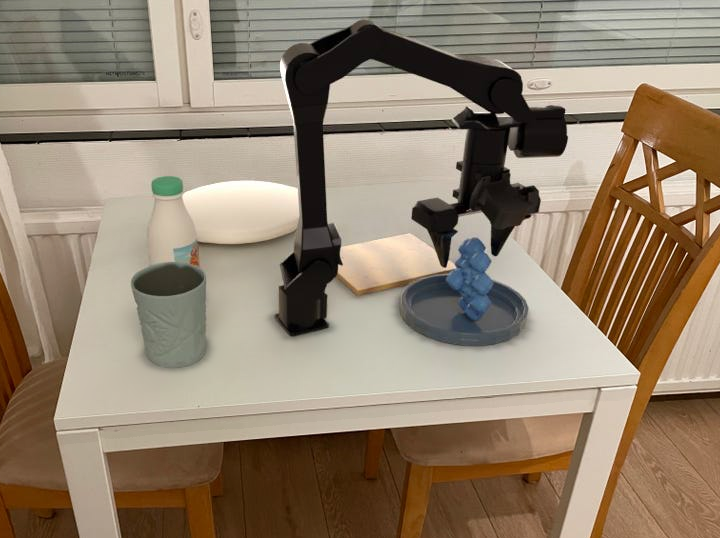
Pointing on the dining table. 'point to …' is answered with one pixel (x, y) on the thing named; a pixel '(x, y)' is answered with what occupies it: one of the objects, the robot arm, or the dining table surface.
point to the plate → (242, 211)
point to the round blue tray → (462, 313)
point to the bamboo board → (388, 263)
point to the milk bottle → (171, 225)
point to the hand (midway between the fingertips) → (469, 260)
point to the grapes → (472, 278)
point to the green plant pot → (172, 312)
